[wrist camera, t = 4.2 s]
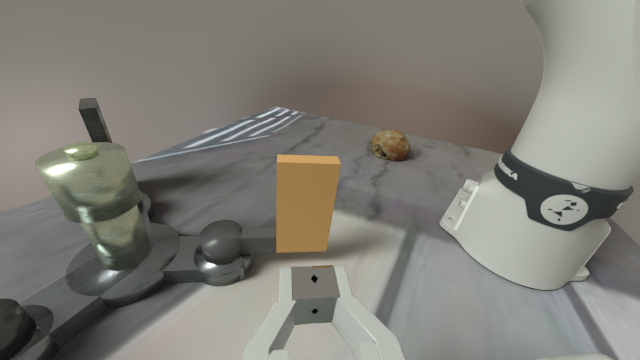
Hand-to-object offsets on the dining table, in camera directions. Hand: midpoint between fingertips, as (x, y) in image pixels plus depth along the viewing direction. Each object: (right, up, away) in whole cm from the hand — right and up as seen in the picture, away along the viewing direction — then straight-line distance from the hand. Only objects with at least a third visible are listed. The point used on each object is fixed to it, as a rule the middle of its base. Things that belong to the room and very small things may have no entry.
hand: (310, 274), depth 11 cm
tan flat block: (-6, -4, +17) cm, 19 cm away
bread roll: (+18, +11, +52) cm, 56 cm away
